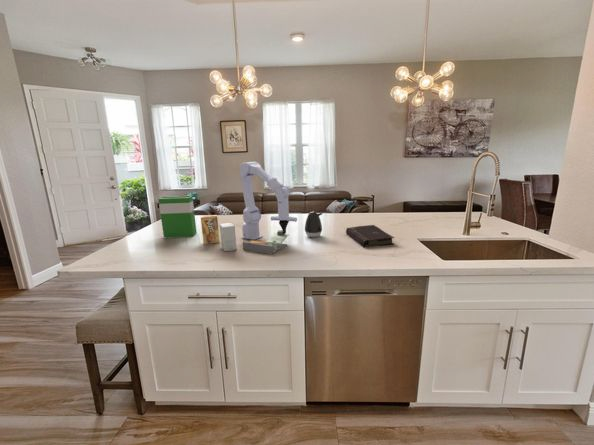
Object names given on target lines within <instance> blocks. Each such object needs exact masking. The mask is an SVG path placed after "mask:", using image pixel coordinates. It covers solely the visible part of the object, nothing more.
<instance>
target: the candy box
mask: <svg viewBox="0 0 594 445" xmlns="http://www.w3.org/2000/svg"><path fill="white" fill-rule="evenodd" d="M200 224H201V233H202V242H203V245H209V244H215V243H221V242H220V240H221V239H220V233H219V232H220V228H219V221H218V216H217V214H213V215H203V216H200Z"/></svg>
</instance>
